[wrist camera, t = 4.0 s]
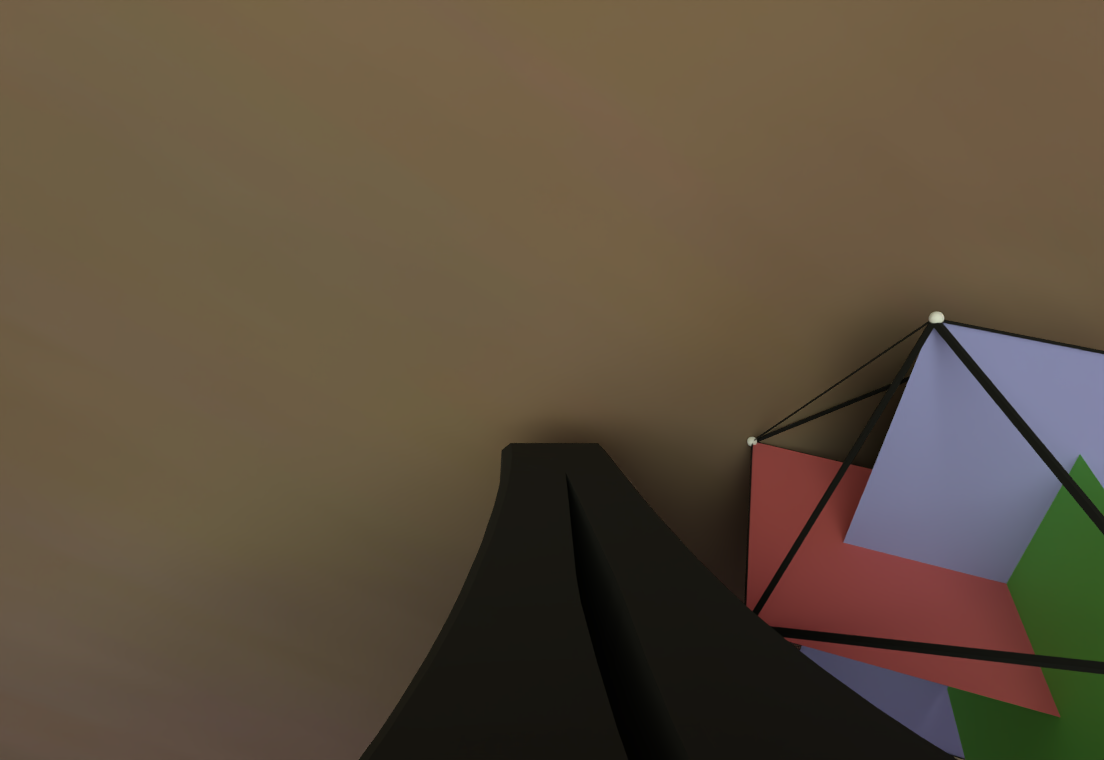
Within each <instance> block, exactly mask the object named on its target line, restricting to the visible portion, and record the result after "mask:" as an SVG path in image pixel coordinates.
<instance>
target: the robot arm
mask: <svg viewBox="0 0 1104 760" xmlns="http://www.w3.org/2000/svg"><path fill="white" fill-rule="evenodd" d="M359 760H958V759H956V758H955V757H953V756H951V755H950V754H948V753H947V752H945V751H943V750H942V749H940V748H938V747H937V746H935V745H934V744H932V743H930V742H929V741H927V740H926V739H924V738H922V737H921V736H919V735H918V734H916V733H915V732H913V731H912V730H910V729H909V728H907V727H906V726H904V725H903V724H901V723H900V722H898V721H897V720H895V719H894V718H892V717H891V716H889V715H888V714H886V713H885V712H883V711H882V710H880V709H879V708H877V707H876V706H874V705H873V704H871V703H870V702H869V701H867V700H866V699H865V698H863V697H862V696H860V695H859V694H858V693H856V692H855V691H853V690H852V689H851V688H849V687H848V686H847V685H845V684H844V683H842V682H841V681H840V680H838V679H837V678H835V677H834V676H833V675H831V674H830V673H828V672H827V671H826V670H824V669H823V668H822V667H820V666H819V665H818V664H816V663H815V662H814V661H813V660H811V659H810V658H809V657H807V656H806V655H805V654H803V653H802V652H801V651H800V650H798V649H797V648H796V647H795V646H793V645H792V644H791V643H790V642H789V641H787V640H786V639H785V638H784V637H783V636H781V635H780V634H779V633H778V632H777V631H775V630H774V629H773V628H772V627H771V626H769V625H768V624H767V623H766V622H765V621H763V620H762V619H761V618H760V617H759V616H757V615H756V614H755V613H754V612H753V611H751V610H750V609H749V608H748V607H747V606H746V605H745V604H744V603H743V602H741V601H740V600H739V599H738V598H737V597H736V596H735V595H734V594H733V593H732V592H730V591H729V590H728V589H727V588H726V587H725V586H724V585H723V584H722V583H721V582H720V581H719V580H718V579H717V578H716V577H715V576H714V575H713V574H712V573H711V572H710V571H709V570H708V569H707V568H706V567H705V566H704V565H703V564H702V563H701V562H700V561H699V560H698V559H697V558H696V557H695V556H694V555H693V554H692V553H691V551H690V550H689V549H688V548H687V547H686V546H685V545H684V544H683V543H682V542H681V541H680V540H679V538H678V537H677V536H676V535H675V534H674V533H673V532H672V531H671V530H670V528H669V527H668V526H667V525H666V524H665V523H664V522H663V521H662V520H661V519H660V517H659V516H658V515H657V514H656V513H655V512H654V511H653V509H652V508H651V507H650V506H649V505H648V504H647V502H646V501H645V500H644V499H643V498H642V496H641V495H640V494H639V493H638V491H637V490H636V489H635V488H634V487H633V485H632V484H631V483H630V482H629V480H628V479H627V478H626V477H625V476H624V474H623V473H622V472H621V471H620V469H619V468H618V467H617V465H616V464H615V463H614V462H613V460H612V459H611V458H610V457H609V455H608V454H607V453H606V452H605V450H604V449H603V448H602V447H601V446H600V445H599V444H598V443H510V444H509V445H508V446H507V447H505V448H504V449H503V450H502V454H501V474H500V485H499V489H498V493H497V497H496V501H495V505H494V508H493V511H492V514H491V517H490V520H489V523H488V526H487V529H486V532H485V535H484V538H483V541H482V543H481V546H480V548H479V551H478V553H477V556H476V558H475V560H474V562H473V565H472V567H471V569H470V572H469V574H468V576H467V579H466V581H465V583H464V585H463V588H462V590H461V592H460V594H459V596H458V599H457V601H456V603H455V605H454V607H453V609H452V611H451V613H450V615H449V617H448V619H447V620H446V622H445V624H444V626H443V628H442V630H441V632H440V634H439V635H438V637H437V639H436V641H435V643H434V644H433V646H432V648H431V650H430V652H429V653H428V655H427V657H426V659H425V660H424V662H423V664H422V665H421V667H420V668H419V670H418V672H417V673H416V675H415V677H414V678H413V680H412V682H411V683H410V685H409V686H408V688H407V690H406V691H405V693H404V695H403V696H402V698H401V699H400V701H399V703H398V704H397V706H396V707H395V709H394V710H393V712H392V713H391V715H390V716H389V718H388V719H387V721H386V722H385V724H384V725H383V727H382V728H381V730H380V731H379V733H378V734H377V736H376V737H375V738H374V740H373V741H372V742H371V744H370V745H369V747H368V748H367V749H366V751H365V752H364V753H363V755H362V756H361V758H360V759H359Z"/></svg>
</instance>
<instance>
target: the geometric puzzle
mask: <svg viewBox="0 0 1104 760" xmlns="http://www.w3.org/2000/svg"><path fill="white" fill-rule="evenodd" d="M927 324H928V325H927ZM926 325H927V327H926V328H925V330H924V331H923V333H922V335H921V336H920V338H919V340H918V341H917V343H916V345H915V346H914V348H913V349H912V351H911V353H910V354H909V356H908V358H907V359H906V361H905V363H904V364H903V366H902V367H901V369H900V371H899V372H898V374H897V376H896V377H895V379H894V381H893V382H892V384H890V385H887V386H885V387H882V388H880V389H877V390H875V391H872V392H870V393H867V394H865V395H863V396H860V397H858V398H855V399H853V400H850V401H848V402H845V403H843V404H840V405H838V406H835V407H833V408H831V409H828V410H826V411H823V412H821V413H818V414H816V415H813V416H811V417H808V418H806V419H803V420H801V421H798V422H796V423H794V424H791V425H789V426H786V427H784V428H781V429H779V430H776V431H774V432H771V433H769V434H766V435H764V434H765V433H767V432H768V431H770V430H771V429H773V428H774V427H776V426H777V425H779V424H780V423H782V422H783V421H785V420H786V419H788V418H789V417H791V416H792V415H793V414H795V413H796V412H798V411H799V410H801V409H802V408H804V407H805V406H807V405H808V404H810V403H811V402H813V401H814V400H816V399H817V398H819V397H820V396H822V395H823V394H825V393H826V392H828V391H829V390H831V389H832V388H834V387H835V386H837V385H838V384H839V383H841V382H842V381H844V380H845V379H847V378H848V377H850V376H851V375H853V374H854V373H856V372H857V371H859V370H860V369H862V368H863V367H865V366H866V365H868V364H869V363H871V362H872V361H874V360H875V359H877V358H878V357H880V356H881V355H882V354H884V353H885V352H887V351H888V350H890V349H891V348H893V347H894V346H896V345H897V344H899V343H900V342H902V341H903V340H905V339H906V338H908V337H909V336H911V335H912V334H914V333H915V332H917V331H918V330H920V329H921V328H923V327H924V326H926ZM920 350H921V351H920ZM919 351H920V353H919ZM918 353H919V356H918V358H917V361H916V363H915V365H914V368H913V370H912V373H911V375H910V376H909V377H907V378H904V376H905V374H906V373H907V371H908V369H909V368H910V366H911V364H912V363H913V361H914V360H915V358H916V356H917V355H918ZM903 378H904V379H903ZM907 381H908V383H907V385H906V388H905V390H904V393H903V395H902V398H901V400H900V403H899V405H898V408H897V410H896V413H895V415H894V418H893V420H892V423H891V425H890V428H889V430H888V433H887V435H886V438H885V440H884V443H883V445H882V448H881V450H880V452H879V455H878V457H877V460H876V462H875V465H874V467H873V469H868V468H864V467H860V466H855V465H851V463H852V461H853V459H854V458H855V456H856V454H857V453H858V451H859V450H860V448H861V446H862V445H863V443H864V441H865V440H866V438H867V436H868V435H869V433H870V432H871V430H872V428H873V427H874V425H875V423H876V422H877V420H878V418H879V417H880V415H881V414H882V412H883V410H884V409H885V407H886V405H887V404H888V402H889V400H890V399H891V397H892V396H893V394H894V392H895V391H896V389H897V387H898V386H899V384H902V383H904V382H907ZM887 389H888V390H887ZM885 390H887V392H886V394H885V395H884V397H883V398H882V400H881V402H880V403H879V405H878V407H877V408H876V410H875V412H874V413H873V415H872V416H871V418H870V420H869V421H868V423H867V425H866V426H865V428H864V430H863V431H862V433H861V434H860V436H859V438H858V439H857V441H856V443H855V444H854V446H853V448H852V449H851V451H850V452H849V454H848V456H847V457H846V459H845V461H844V462H838V461H834V460H830V459H825V458H821V457H817V456H813V455H808V454H804V453H800V452H795V451H791V450H787V449H783V448H778V447H774V446H770V445H765V444H762V443H760V442H759V441H761V440H764V439H766V438H769V437H771V436H774V435H776V434H779V433H781V432H783V431H786V430H788V429H791V428H793V427H796V426H798V425H801V424H803V423H806V422H808V421H811V420H813V419H816V418H818V417H820V416H823V415H825V414H828V413H830V412H833V411H835V410H838V409H840V408H843V407H845V406H848V405H850V404H853V403H855V402H857V401H860V400H862V399H865V398H867V397H870V396H872V395H875V394H877V393H880V392H882V391H885ZM762 435H764V436H762ZM761 436H762V437H761ZM747 443H748V445H749V446H751V465H750V488H749V511H748V534H747V557H746V580H745V603H744V604H745V605H746V606H747V607H748V608H749V609H750V610H751V611H753V612H754V613H755V614H756V615H757V616H759V617H760V618H761V619H762V620H763V621H765V622H766V623H767V624H768V625H769V626H771V627H772V628H773V629H774V630H775V631H777V632H778V633H779V634H780V635H781V636H783V637H784V638H785V639H786V640H787V641H789V642H792V643H795V644H799V645H802V646H801V649H800V651H801V652H802V653H803V654H805V655H806V656H807V657H809V658H810V659H811V660H813V661H814V662H815V663H816V664H818V665H819V666H820V667H822V668H823V669H824V670H826V671H827V672H828V673H830V674H831V675H833V676H834V677H835V678H837V679H838V680H840V681H841V682H842V683H844V684H845V685H847V686H848V687H849V688H851V689H852V690H853V691H855V692H856V693H858V694H859V695H860V696H862V697H863V698H865V699H866V700H867V701H869V702H870V703H871V704H873V705H874V706H876V707H877V708H879V709H880V710H882V711H883V712H885V713H886V714H888V715H889V716H891V717H892V718H894V719H895V720H897V721H898V722H900V723H901V724H903V725H904V726H906V727H907V728H909V729H910V730H912V731H913V732H915V733H916V734H918V735H919V736H921V737H922V738H924V739H926V740H927V741H929V742H930V743H932V744H934V745H935V746H937V747H938V748H940V749H942V750H943V751H945V752H947V753H948V754H950V755H951V756H953V757H957V758H960V759H963V760H1104V351H1101V350H1096V349H1091V348H1086V347H1081V346H1075V345H1070V344H1065V343H1060V342H1055V341H1050V340H1045V339H1040V338H1035V337H1029V336H1024V335H1019V334H1014V333H1009V332H1004V331H999V330H994V329H989V328H983V327H978V326H973V325H968V324H963V323H958V322H953V321H948V320H944V315H943V314H942V313H941V312H937V311H936V312H933V313H931V314H930V315H929V321H928V322H927V323H925V324H924V325H922V326H921V327H919V328H918V329H916V330H915V331H913V332H912V333H910V334H909V335H908V336H906V337H905V338H903V339H902V340H900V341H899V342H897V343H896V344H894V345H893V346H891V347H890V348H888V349H887V350H885V351H884V352H882V353H881V354H879V355H878V356H877V357H875V358H874V359H872V360H871V361H869V362H868V363H866V364H865V365H863V366H862V367H860V368H859V369H857V370H856V371H854V372H853V373H851V374H850V375H849V376H847V377H846V378H844V379H843V380H841V381H840V382H838V383H837V384H835V385H834V386H832V387H831V388H829V389H828V390H826V391H825V392H823V393H822V394H820V395H819V396H818V397H816V398H815V399H813V400H812V401H810V402H809V403H807V404H806V405H804V406H803V407H801V408H800V409H798V410H797V411H795V412H794V413H792V414H791V415H789V416H788V417H787V418H785V419H784V420H782V421H781V422H779V423H778V424H776V425H775V426H773V427H772V428H770V429H769V430H767V431H766V432H764V433H763V434H761V435H760V436H759V437H757V438H755V437H749V438H748V440H747Z"/></svg>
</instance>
